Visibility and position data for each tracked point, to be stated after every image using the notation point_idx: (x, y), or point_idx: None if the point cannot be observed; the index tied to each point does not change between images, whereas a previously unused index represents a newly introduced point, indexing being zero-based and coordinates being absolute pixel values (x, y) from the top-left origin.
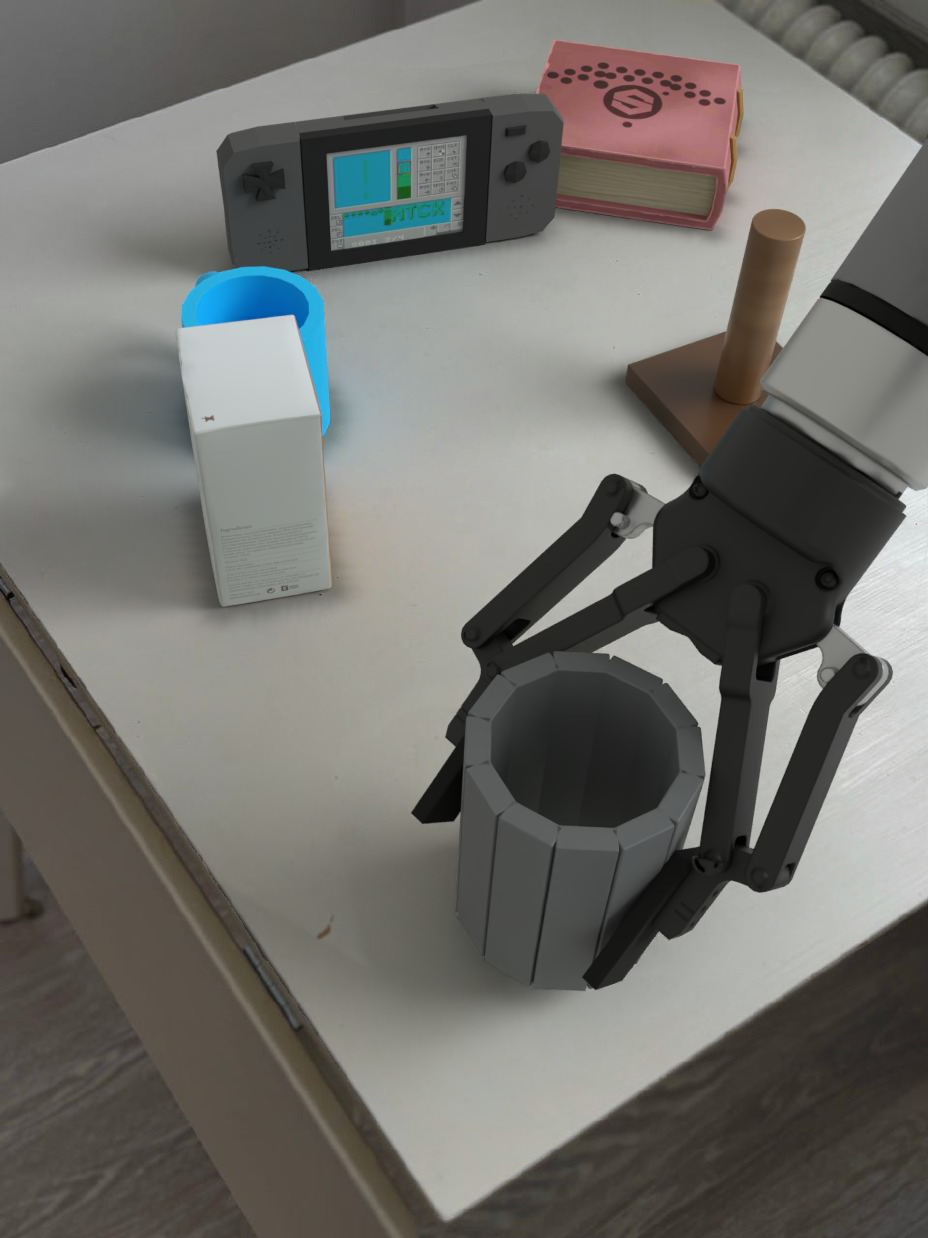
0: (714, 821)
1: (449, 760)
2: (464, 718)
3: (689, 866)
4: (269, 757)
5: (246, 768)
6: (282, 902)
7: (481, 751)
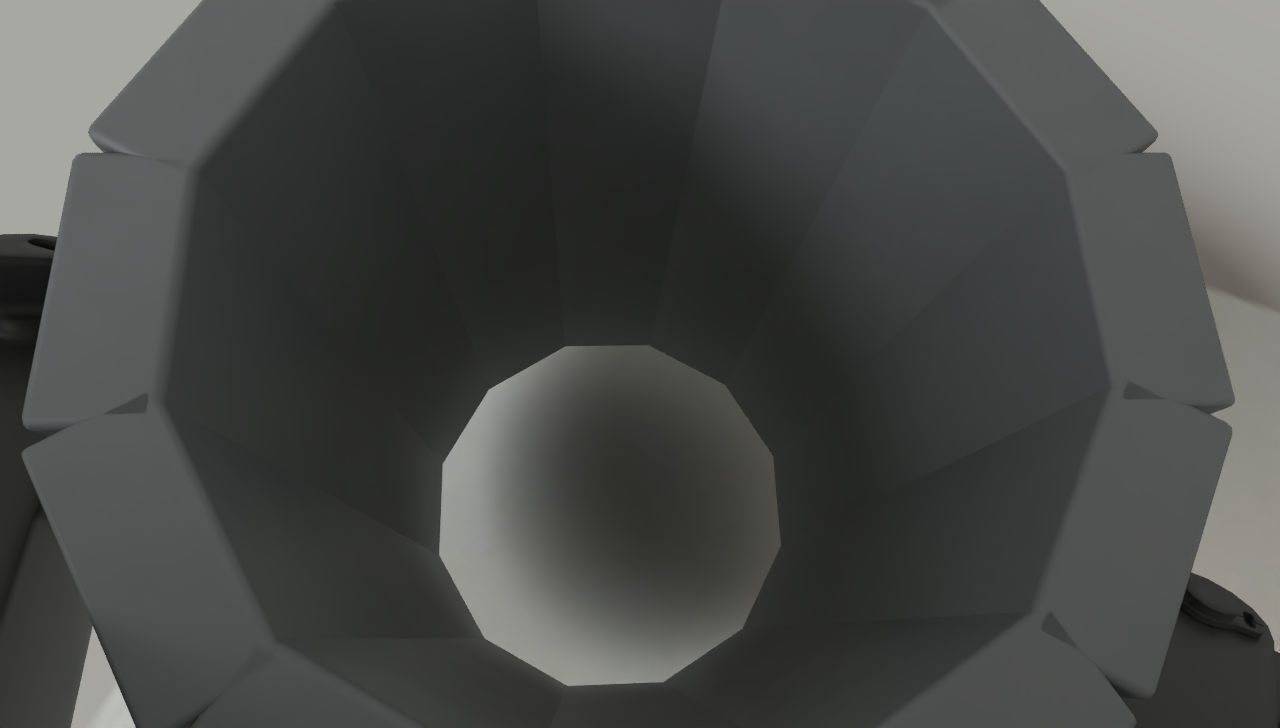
0: (12, 395)
1: None
2: None
3: None
4: (1259, 494)
5: (1268, 449)
6: None
7: (990, 27)
